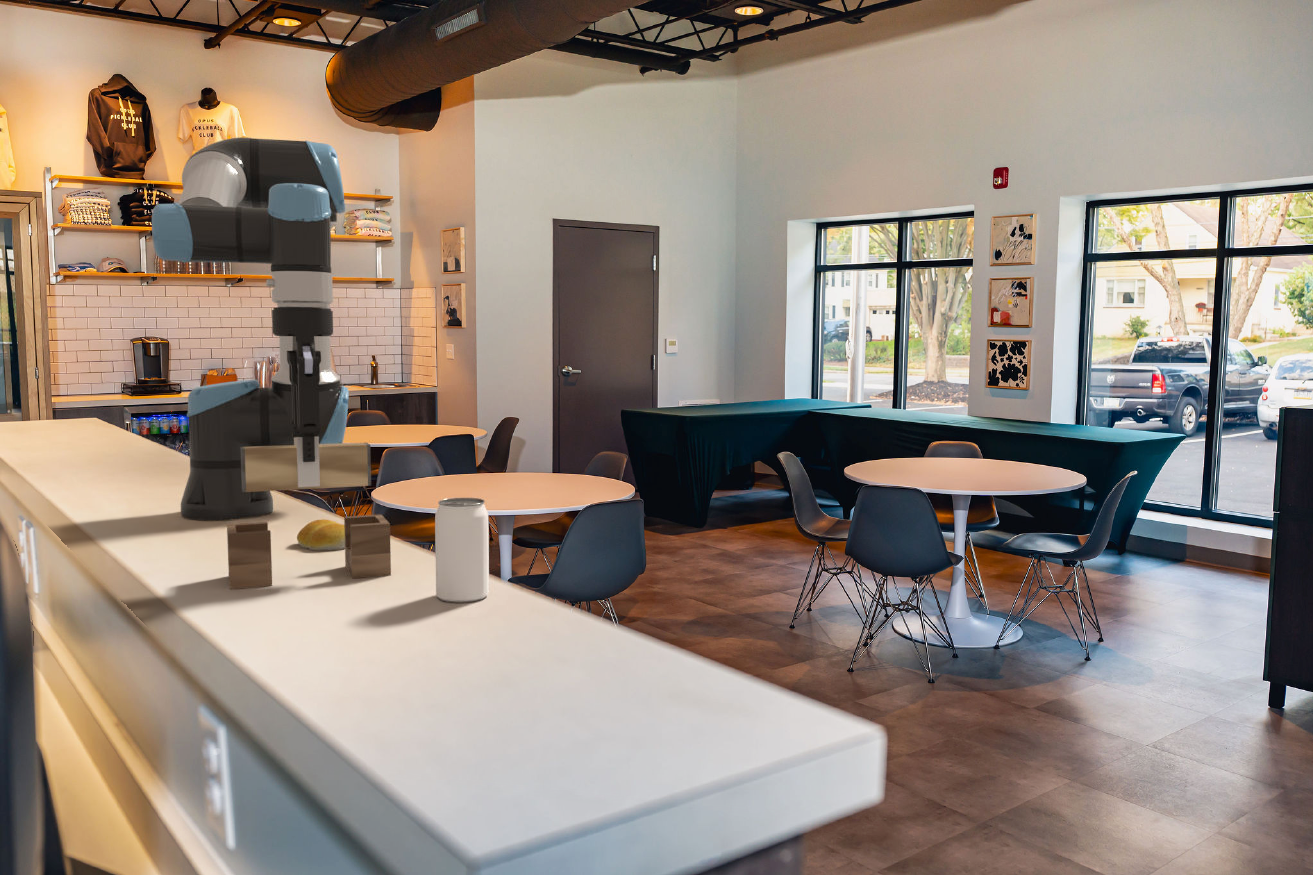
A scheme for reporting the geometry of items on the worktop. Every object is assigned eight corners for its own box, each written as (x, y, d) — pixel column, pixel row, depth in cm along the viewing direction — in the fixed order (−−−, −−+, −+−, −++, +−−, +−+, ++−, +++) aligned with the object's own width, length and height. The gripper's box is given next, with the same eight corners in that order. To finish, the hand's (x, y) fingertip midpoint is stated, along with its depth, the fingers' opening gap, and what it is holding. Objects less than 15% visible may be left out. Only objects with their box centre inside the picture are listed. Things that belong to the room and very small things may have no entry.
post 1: (228, 576, 136) (226, 524, 136) (268, 572, 138) (267, 521, 138) (230, 589, 130) (228, 534, 129) (272, 585, 132) (270, 531, 131)
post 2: (391, 574, 138) (389, 523, 137) (352, 578, 136) (351, 526, 135) (382, 563, 144) (381, 514, 144) (345, 566, 142) (344, 516, 142)
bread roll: (323, 555, 150) (322, 528, 150) (289, 546, 156) (288, 520, 155) (370, 545, 157) (369, 520, 156) (336, 538, 162) (335, 513, 162)
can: (477, 605, 123) (476, 506, 122) (427, 601, 125) (425, 504, 123) (496, 591, 130) (495, 498, 128) (448, 588, 131) (447, 496, 130)
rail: (241, 488, 134) (240, 447, 133) (367, 482, 140) (366, 442, 140) (242, 492, 131) (241, 449, 130) (371, 485, 137) (370, 444, 137)
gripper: (267, 306, 139) (273, 477, 141) (275, 304, 124) (281, 495, 127) (325, 307, 142) (329, 474, 144) (339, 305, 127) (344, 491, 130)
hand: (307, 483), depth 136 cm, fingers closed on rail, 3 cm apart
